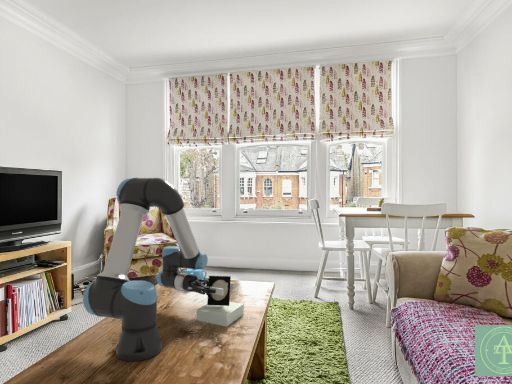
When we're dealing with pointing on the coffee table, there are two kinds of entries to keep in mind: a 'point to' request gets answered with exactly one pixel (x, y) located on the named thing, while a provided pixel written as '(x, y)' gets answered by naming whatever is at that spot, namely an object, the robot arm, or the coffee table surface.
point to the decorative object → (219, 283)
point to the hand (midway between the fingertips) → (228, 289)
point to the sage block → (220, 313)
